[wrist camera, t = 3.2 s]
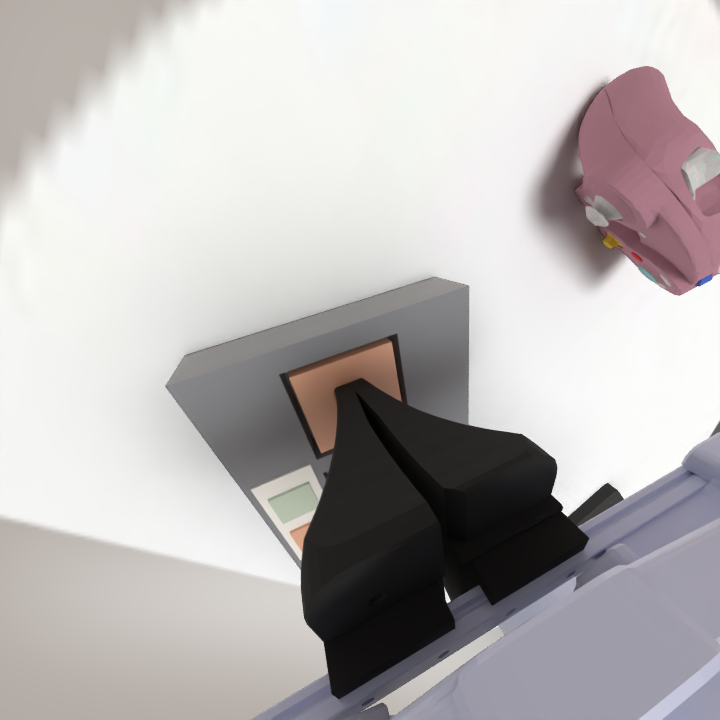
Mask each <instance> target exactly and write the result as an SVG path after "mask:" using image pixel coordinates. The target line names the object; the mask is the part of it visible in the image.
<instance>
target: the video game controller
mask: <svg viewBox="0 0 720 720" xmlns="http://www.w3.org/2000/svg"><path fill="white" fill-rule="evenodd" d="M578 143H579V156H580V160H581V163H582V167H583V172H584V177H583V183H582V184H581V185H580V186H579V187H578V188H577V189H575V193H576V195H577V196H578V198H579V199H580V201H581V202H582V203H583V204H584V205H585V206H586V208H585V209H586V215H587V216H586V217H587V219H588V220H589V221H590V222H591V223H592V224H594V225H596V226H597V225H598V226H599V230H600V232H601V233H602V234H603V235H604V236H605V238H604V239H603V240H602V242H603V244H604V245H605V246H606V247H608V248H610V249H613V248H614V247H617V248H618V249H619V250H620V251H621V252H623V253H624V254H625V255H626V256H627V257H628V258H629V259H630V260H631V261H632V262H633V263H634V264H635V265H636V266H637V267H638V269H639V270H640V271H641V272H642V273H643V274H644V275H645V276H646V277H647V278H648V279H650V280H651V281H653V282H655V283H656V284H658V285H659V286H660V287H662V288H663V289H665V290H667V291H669V292H670V293H672V294H674V295H679V296H680V295H682V294H684V293H686V292H688V291H690V290H691V289H693V288H695V287H697V286H701V285H703V284H705V283H707V282H708V281H710V280H712V277H713V276H715V275H717V274H720V154H719V153H718V152H717V150H716V149H715V147H714V145H713V143H712V142H711V141H710V140H709V139H708V137H707V136H706V135H705V134H704V133H703V132H702V130H701V129H700V128H699V127H698V126H697V125H696V124H695V123H693V122H692V121H690V120H689V119H688V118H686V117H685V116H683V114H682V113H681V112H680V110H679V109H678V108H677V106H676V105H675V104H674V102H673V100H672V98H671V95H670V92H669V89H668V87H667V84H666V81H665V78H664V75H663V74H662V73H661V72H660V71H659V70H657V69H655V68H653V67H649V66H644V67H639V68H636V69H632V70H629V71H627V72H626V73H624V74H622V75H620V76H619V77H617V78H616V79H614V80H613V81H612V82H610V83H609V84H607V85H606V86H605V87H604V88H603V89H602V90H601V91H600V92H599V93H598V95H597V96H596V97H595V99H594V100H593V102H592V103H591V105H590V106H589V108H588V110H587V112H586V114H585V116H584V118H583V120H582V123H581V127H580V131H579V138H578Z"/></svg>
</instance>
